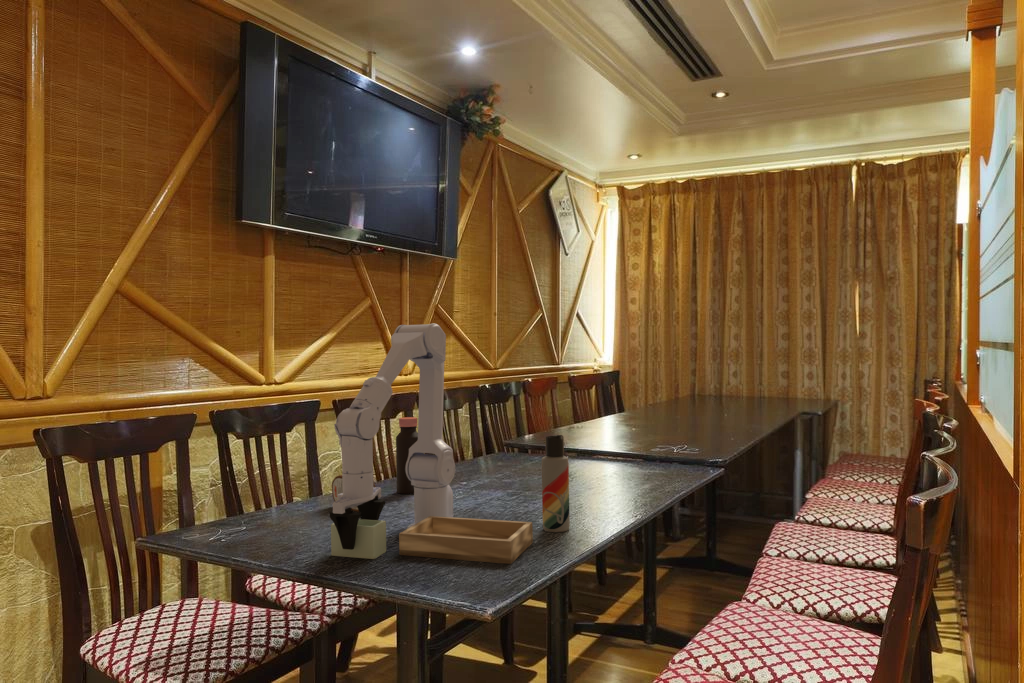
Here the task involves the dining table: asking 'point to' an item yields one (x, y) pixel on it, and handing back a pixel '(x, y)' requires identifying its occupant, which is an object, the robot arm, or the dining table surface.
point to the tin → (340, 489)
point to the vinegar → (405, 452)
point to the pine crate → (467, 539)
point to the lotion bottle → (555, 486)
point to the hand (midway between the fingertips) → (358, 543)
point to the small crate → (362, 540)
